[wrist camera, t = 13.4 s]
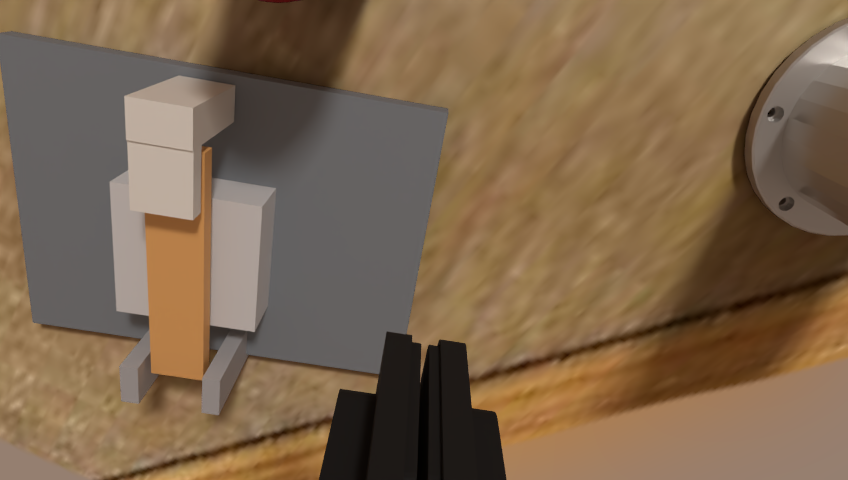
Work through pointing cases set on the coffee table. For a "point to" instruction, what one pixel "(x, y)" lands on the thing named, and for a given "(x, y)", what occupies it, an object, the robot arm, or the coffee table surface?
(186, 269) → the strap
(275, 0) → the soda can
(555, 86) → the coffee table surface
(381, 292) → the board
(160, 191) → the block
